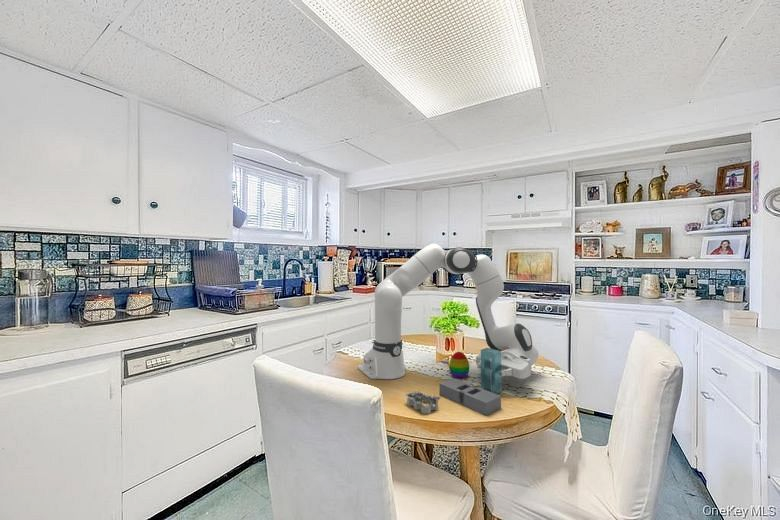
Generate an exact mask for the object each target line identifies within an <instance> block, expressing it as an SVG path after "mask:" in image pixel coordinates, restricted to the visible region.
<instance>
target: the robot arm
mask: <svg viewBox="0 0 780 520" xmlns="http://www.w3.org/2000/svg"><path fill="white" fill-rule="evenodd" d="M438 269H442V270H444V271H445V272H447V273H449V274H451V275H452V274H453V275H460V274H465V273H466V274H467V275H469V276H470V278H471V279H472V282H473V284H474V286H475V288H476V297H475V305H476V309H477V312H478V315H479V318H480V321H481V325H482V327H483V331H484V336H485V337H484V338H485V341H486V345H487V346H488V348H490V349H494V350H498V351H501V370H500V371H499V375H501V377H504V376H506V377H507V376H511V377H514V378H516V379H521V380H523V379H527V378H528V377H531V375H532V366H533V365H535V364H536V362H537V361H538V359H539V351H538V349H537V347H535V346H534V345H533V339H532V336H531V333H530V331H529V330H528V328H526V327H525V326H524V325H523V324H521V323H513V324H509V325H505V326H500V327H499V326H497V325H496V321H495V319H494V315H493V311H492V306H493V304H494V302H495V301H497V300H498V299H499V298H500V297H501V296H502V294H503V293H504V289H505V285H504V280H503V279H502V277H501V274H500V272H499V271H498V269H497V267H496V265H495V263H494V262H493V261H492V259H491V258H490V257H489V256H488V255H487V254H477V255H476V254H474V253H473V252H471V251H470V250H469V249H467V248H465V247H463V246H462V247H461V246H458V247H453V248H451V249H449V250H445V249H443V247H442V246H441V245H439V244H437V243H431V244H428V245H426V246H425V247H423V248H421V249H420V250H419V251H417V252H415V254H414V255H412V256H411V257H410V258H409V259H408V260H406V262H404V263H403V264H401V266H400V267H398V268H397V269H396V270H395V271H393V272H392V273H391V274H389V275H388V276H386V278H384V279H383V280H382V281H381V282H379V283H378V285H377V286H376V287H375V289H374V339H372V341H371V344H372V348H370V350H369V351H367V352H366V353H365V354H363V360H362V361H363V363H361V364H358V366H357V369H358V370H360V372H361V373H363V374H364V375H366V376H367V377H368V378H369V379H371V380H377V379H379V380H394V379H400V378H402V377H403V376H405V375H406V369H407V366H406V365H405V359H404V351H403V350H402V349H403V339H402V310H403V297H404V296H405V295H407V294H409V293H410V292H412V291H413V290H414V289H416V288H418V287H419V286H420V285H421V284H422V283H424V281H426V280H427V279H428V278H429V277H431V275H433V274H434V273H435V272H436V271H437V270H438ZM475 357H476V358H475V363H476V368H477V369H480V370H481V354H477V355H476V356H475Z"/></svg>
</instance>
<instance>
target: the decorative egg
mask: <svg viewBox="0 0 780 520" xmlns="http://www.w3.org/2000/svg"><path fill="white" fill-rule="evenodd" d="M448 365H449V367H448V368H449V369H448V370H449V372H450V374H451V375H452V377H453V378H455V379H464V377H465V378H466V377H467V376H468V374H469V371H470V362H469V359H468V357H467V355H465V353H464V352H462V351H456V352H454V353H453V354H452V356H451V358H450V360H449V364H448Z"/></svg>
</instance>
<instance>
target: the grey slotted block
mask: <svg viewBox="0 0 780 520" xmlns="http://www.w3.org/2000/svg"><path fill="white" fill-rule="evenodd" d="M438 387H439V396H442V397H444V398H447V399H449V400H451V401H453V402H456V403H458V404H459V405H462V406H464V407H467V408H469V409H471V410H473V411H476V412H477V411H478V412H477V413H479V412H480V414H482V415H484V414H485V415H484V416H486V415H487V416H488V414H489V415H490V413H491V414H493V413H494V412H496V411H498V410H500V409H502V396H501V395H499V394H495V393H492V392H491V391H489V390H488V389H487V390H484V389H481V387H479V386H477V385H473V384H471V383H468V382H465V381H463V380H461V379H459V378H456V377H453V378H450V379H448V380H445V381H442V382H439V385H438Z"/></svg>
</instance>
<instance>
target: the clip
mask: <svg viewBox="0 0 780 520" xmlns="http://www.w3.org/2000/svg"><path fill="white" fill-rule="evenodd" d="M501 353H502V351H498V350H494V349H491V348H490V347H486V348H481V349H480V355H481V369H480V388H481V389H484V390H487V391H488V390H489V388H490V390H491V391H490V392H492V393H495V394H497V395H499V394H500V393H502V376H501V375H499V371H500V370H501Z"/></svg>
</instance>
